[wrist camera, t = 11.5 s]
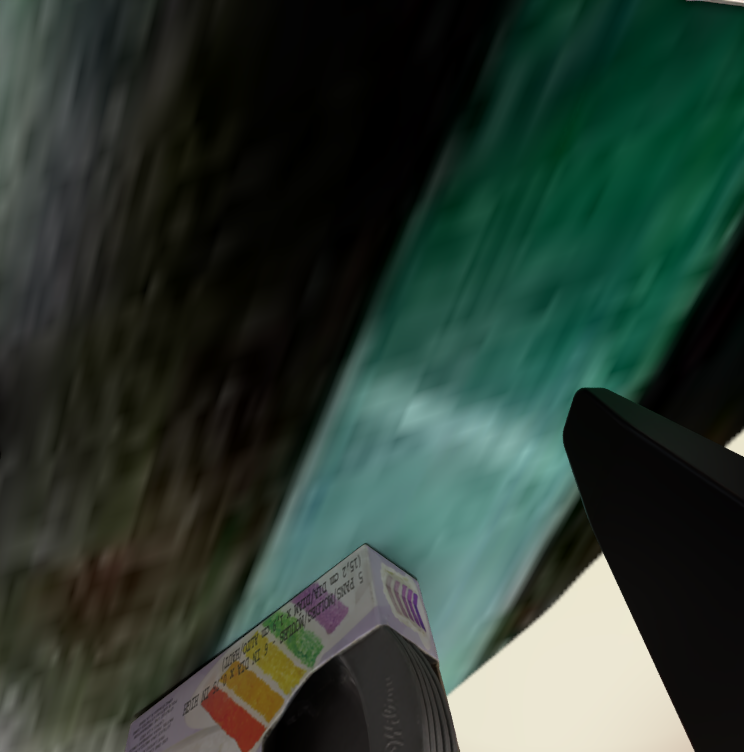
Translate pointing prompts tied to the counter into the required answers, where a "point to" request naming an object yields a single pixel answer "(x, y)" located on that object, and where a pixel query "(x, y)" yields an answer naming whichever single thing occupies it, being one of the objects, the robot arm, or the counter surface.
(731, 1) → the collar
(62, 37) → the counter surface
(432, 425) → the counter surface
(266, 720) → the cake pan box
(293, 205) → the counter surface
